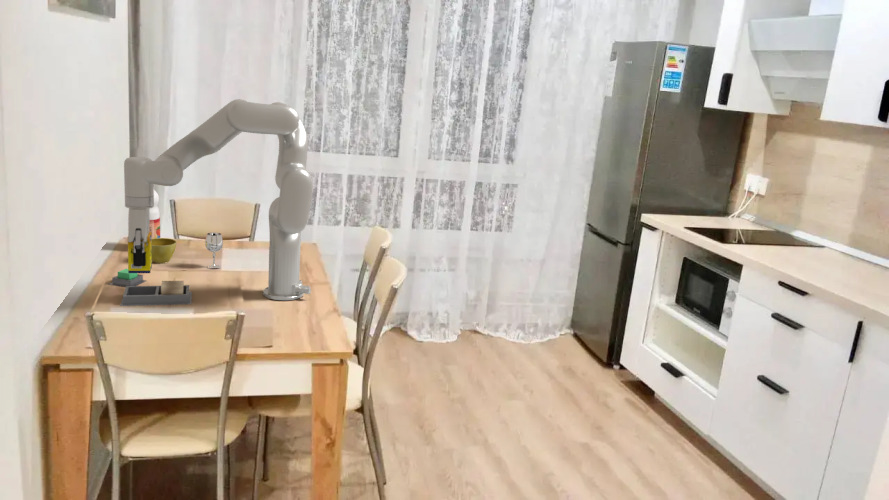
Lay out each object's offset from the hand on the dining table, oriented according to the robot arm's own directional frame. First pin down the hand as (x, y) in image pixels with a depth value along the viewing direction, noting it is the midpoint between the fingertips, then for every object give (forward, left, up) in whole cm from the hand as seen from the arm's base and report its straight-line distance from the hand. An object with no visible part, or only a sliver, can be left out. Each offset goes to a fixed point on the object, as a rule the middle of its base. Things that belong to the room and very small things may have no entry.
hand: (140, 261), depth 198 cm
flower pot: (+18, -38, -13) cm, 44 cm away
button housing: (+12, -11, -12) cm, 21 cm away
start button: (+12, -11, -10) cm, 19 cm away
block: (-7, -4, -11) cm, 14 cm away
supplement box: (0, 0, -3) cm, 3 cm away
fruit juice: (+31, -49, -13) cm, 60 cm away
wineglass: (-1, -40, -13) cm, 42 cm away
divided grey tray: (-4, -2, -12) cm, 13 cm away
